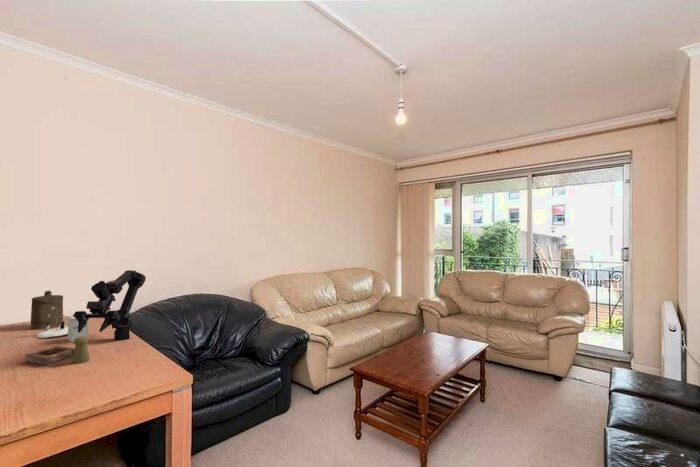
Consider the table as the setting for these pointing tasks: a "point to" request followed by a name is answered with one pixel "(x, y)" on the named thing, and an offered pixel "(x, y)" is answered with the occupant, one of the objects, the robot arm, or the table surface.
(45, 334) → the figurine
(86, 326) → the supplement box
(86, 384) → the table surface
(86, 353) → the olive mushroom shape
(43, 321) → the wooden container
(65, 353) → the walnut pocket block
